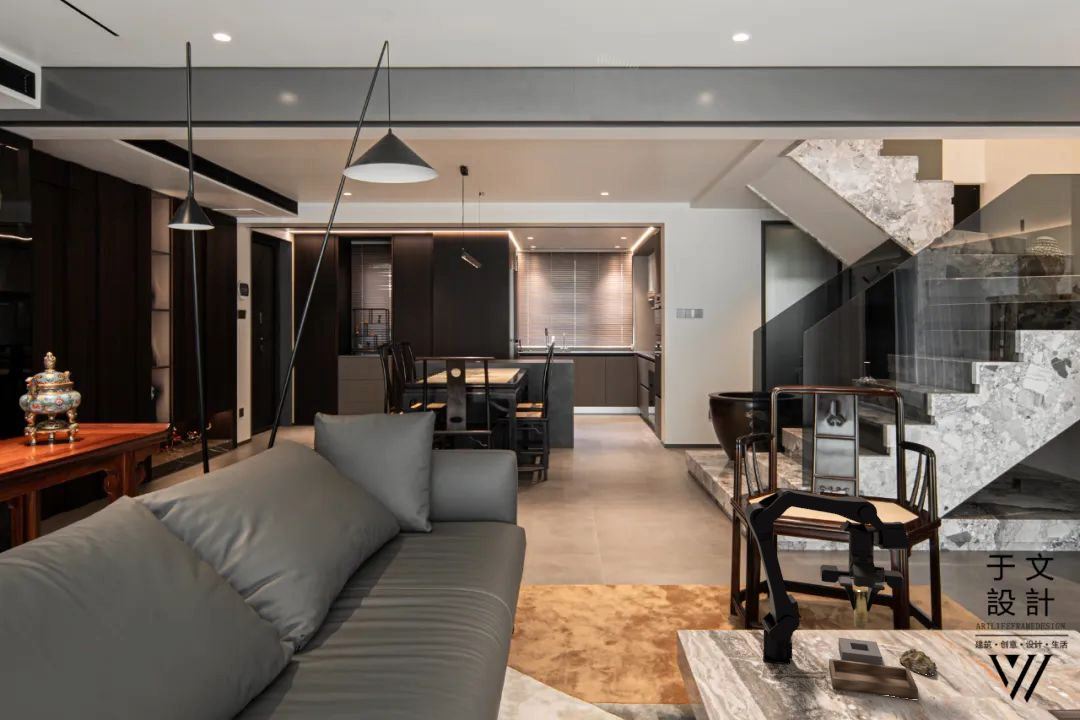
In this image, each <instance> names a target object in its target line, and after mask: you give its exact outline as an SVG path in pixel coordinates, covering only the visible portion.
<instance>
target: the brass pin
mask: <svg viewBox="0 0 1080 720" xmlns="http://www.w3.org/2000/svg"><path fill="white" fill-rule="evenodd" d="M853 595H854V603H855V610H853V611H854V612H853V626H854V627H855V628H857V629H862V630H863V629H864V630H865V629H868V612H867V595H868V590H866V589H864V588H853Z"/></svg>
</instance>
